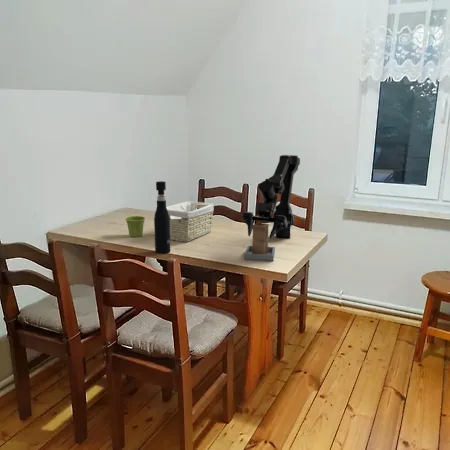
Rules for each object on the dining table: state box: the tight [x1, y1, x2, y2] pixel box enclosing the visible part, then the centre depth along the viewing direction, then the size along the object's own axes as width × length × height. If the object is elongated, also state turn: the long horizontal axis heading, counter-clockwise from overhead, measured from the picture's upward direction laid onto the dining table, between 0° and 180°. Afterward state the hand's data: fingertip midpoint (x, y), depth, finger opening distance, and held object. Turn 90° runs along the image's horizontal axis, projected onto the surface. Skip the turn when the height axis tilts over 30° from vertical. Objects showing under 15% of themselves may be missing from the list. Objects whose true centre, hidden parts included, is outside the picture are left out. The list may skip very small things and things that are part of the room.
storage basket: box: [166, 200, 215, 243], centre depth 217 cm, size 24×16×15 cm
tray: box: [244, 245, 276, 262], centre depth 188 cm, size 12×12×2 cm
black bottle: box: [153, 180, 171, 255], centre depth 190 cm, size 6×6×30 cm
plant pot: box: [124, 215, 146, 238], centre depth 217 cm, size 9×9×9 cm
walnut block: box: [251, 222, 269, 254], centre depth 186 cm, size 5×5×13 cm
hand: (259, 237), depth 185 cm, fingers open, 9 cm apart
